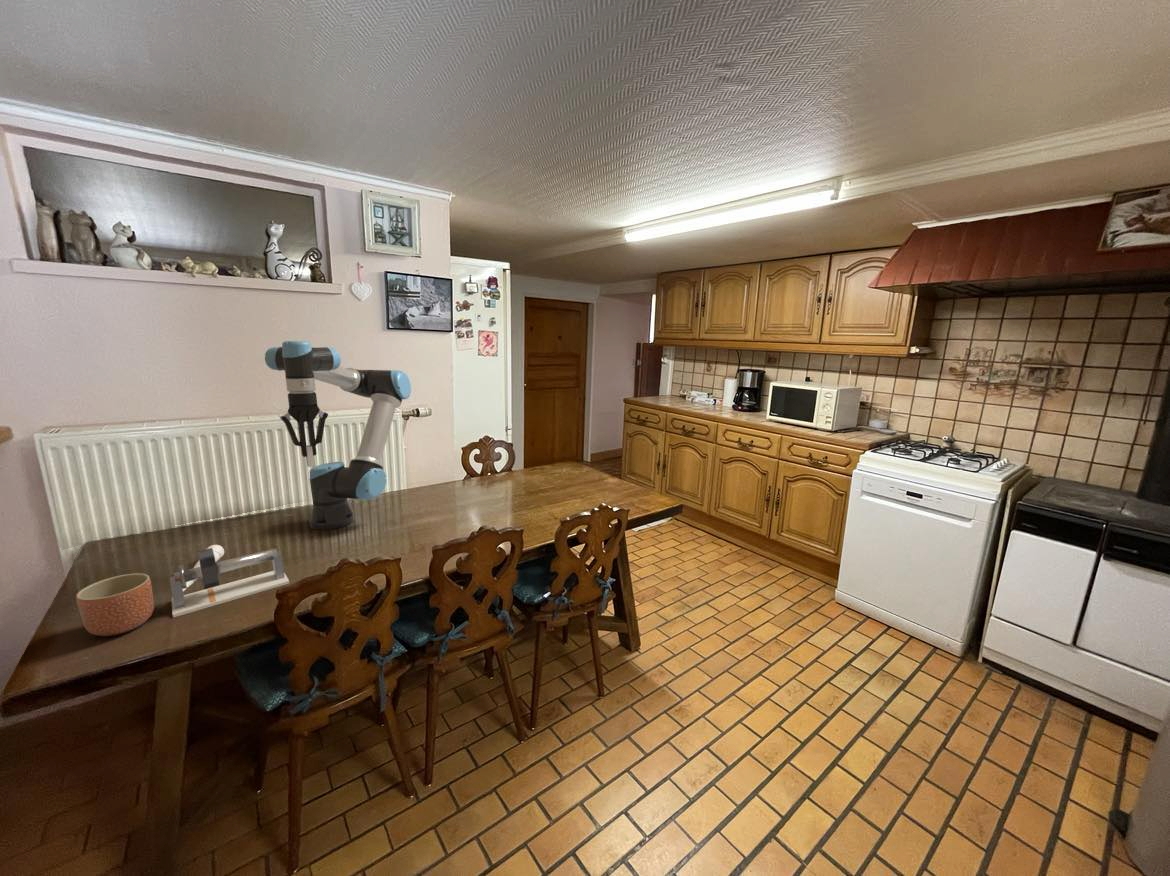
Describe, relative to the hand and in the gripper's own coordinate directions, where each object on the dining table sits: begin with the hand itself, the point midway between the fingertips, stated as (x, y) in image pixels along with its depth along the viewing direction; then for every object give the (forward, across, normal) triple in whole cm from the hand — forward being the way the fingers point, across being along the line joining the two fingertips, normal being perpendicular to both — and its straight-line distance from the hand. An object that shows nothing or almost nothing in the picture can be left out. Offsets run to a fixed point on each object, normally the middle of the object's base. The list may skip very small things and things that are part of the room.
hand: (310, 465), depth 145 cm
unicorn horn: (+30, -30, +8) cm, 43 cm away
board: (+29, -24, -12) cm, 40 cm away
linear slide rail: (+29, -24, -12) cm, 40 cm away
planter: (+30, -46, -14) cm, 56 cm away
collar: (+25, -29, -12) cm, 40 cm away
